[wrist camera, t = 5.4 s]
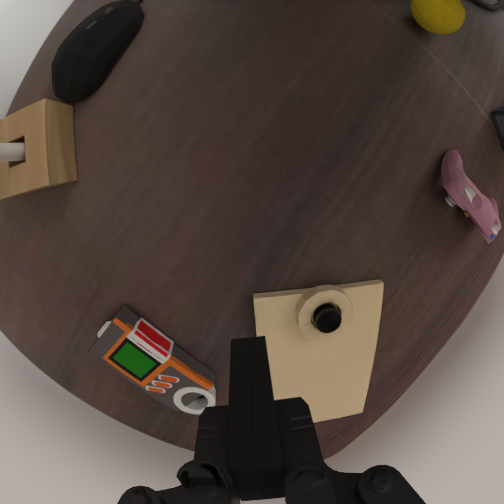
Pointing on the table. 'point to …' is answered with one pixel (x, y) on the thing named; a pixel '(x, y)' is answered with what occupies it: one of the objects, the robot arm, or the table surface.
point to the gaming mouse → (94, 49)
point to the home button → (327, 318)
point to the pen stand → (39, 148)
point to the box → (499, 123)
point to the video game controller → (469, 196)
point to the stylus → (12, 152)
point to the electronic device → (154, 363)
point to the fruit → (438, 15)
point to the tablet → (321, 345)
